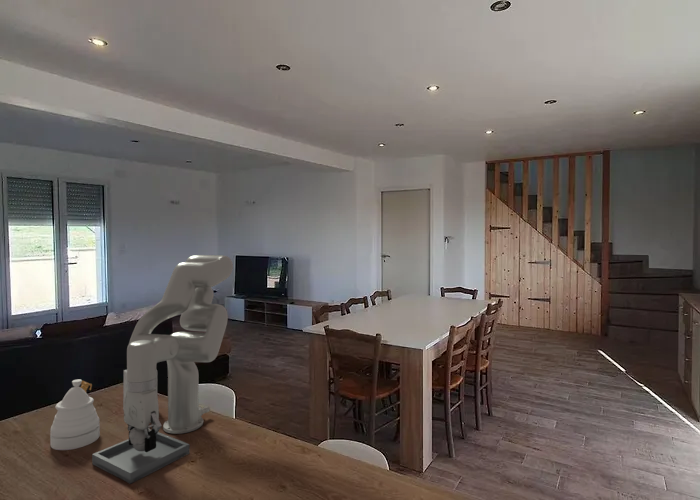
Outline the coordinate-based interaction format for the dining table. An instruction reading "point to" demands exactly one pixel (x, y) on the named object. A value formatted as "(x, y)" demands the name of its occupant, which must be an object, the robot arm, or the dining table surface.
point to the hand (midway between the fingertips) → (142, 446)
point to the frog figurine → (138, 438)
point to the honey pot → (74, 420)
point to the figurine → (85, 385)
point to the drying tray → (139, 458)
